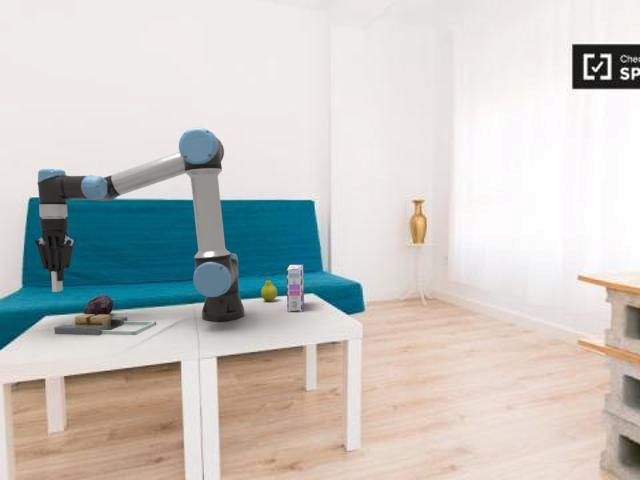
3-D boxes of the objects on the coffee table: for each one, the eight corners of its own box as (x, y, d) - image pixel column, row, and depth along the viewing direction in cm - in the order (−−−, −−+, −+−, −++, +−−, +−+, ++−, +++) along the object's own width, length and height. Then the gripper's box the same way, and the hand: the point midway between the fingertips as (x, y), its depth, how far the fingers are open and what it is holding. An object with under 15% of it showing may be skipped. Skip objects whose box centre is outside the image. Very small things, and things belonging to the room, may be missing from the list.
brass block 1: (95, 326, 135) (94, 314, 135) (86, 329, 131) (86, 317, 131) (84, 326, 136) (83, 314, 135) (75, 329, 132) (74, 317, 132)
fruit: (279, 299, 179) (278, 271, 179) (275, 302, 173) (275, 274, 172) (263, 299, 180) (262, 272, 179) (259, 302, 173) (258, 274, 172)
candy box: (302, 312, 156) (301, 268, 155) (287, 312, 156) (286, 268, 155) (304, 303, 169) (303, 264, 168) (290, 304, 170) (289, 264, 168)
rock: (80, 328, 143) (112, 325, 146) (77, 305, 141) (109, 302, 144) (90, 315, 154) (119, 312, 157) (87, 293, 152) (116, 291, 155)
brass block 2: (110, 326, 134) (110, 314, 134) (102, 330, 130) (101, 317, 130) (99, 326, 135) (99, 314, 135) (91, 330, 131) (90, 317, 131)
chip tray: (156, 329, 136) (155, 321, 136) (135, 339, 125) (134, 331, 124) (125, 328, 138) (124, 320, 138) (101, 338, 126) (101, 330, 126)
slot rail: (127, 327, 139) (127, 317, 139) (99, 340, 125) (98, 328, 125) (87, 326, 141) (86, 316, 141) (55, 338, 127) (54, 327, 127)
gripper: (80, 217, 135) (84, 289, 137) (45, 218, 137) (49, 288, 139) (63, 218, 128) (66, 293, 129) (26, 218, 130) (30, 292, 131)
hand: (57, 290), depth 134 cm, fingers closed
